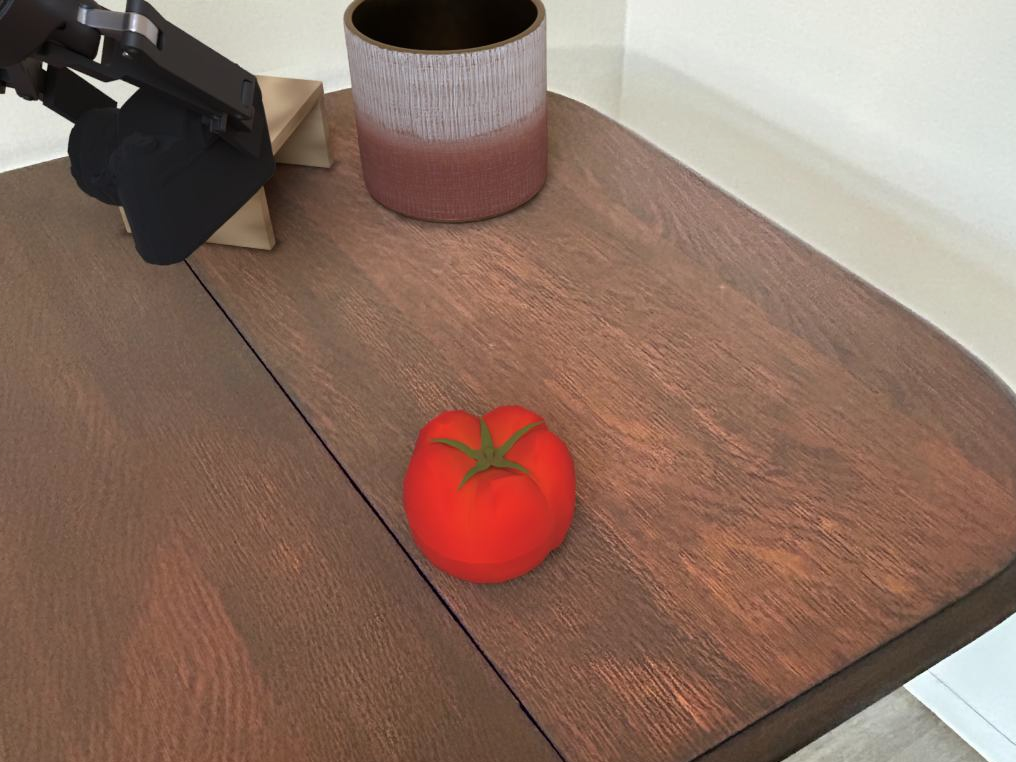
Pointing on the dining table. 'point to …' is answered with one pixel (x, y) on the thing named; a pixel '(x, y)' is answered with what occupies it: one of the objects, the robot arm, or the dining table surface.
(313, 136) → the shelf
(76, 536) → the dining table surface
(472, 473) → the tomato
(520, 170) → the planter
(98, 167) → the film camera
